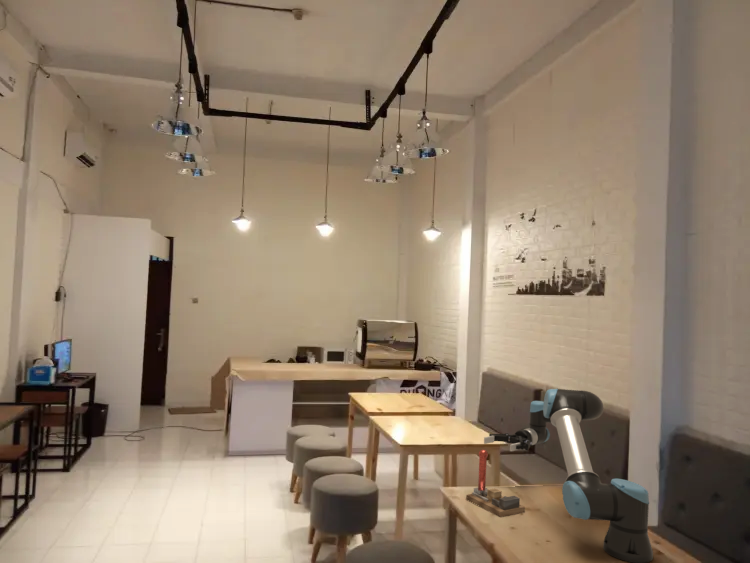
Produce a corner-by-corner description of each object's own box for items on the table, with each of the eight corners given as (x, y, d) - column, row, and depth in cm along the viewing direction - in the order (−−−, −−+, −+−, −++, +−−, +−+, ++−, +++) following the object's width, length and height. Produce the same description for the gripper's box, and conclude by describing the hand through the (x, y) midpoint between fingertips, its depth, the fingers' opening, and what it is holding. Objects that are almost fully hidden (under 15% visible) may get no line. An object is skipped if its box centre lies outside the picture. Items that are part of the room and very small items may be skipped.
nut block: (501, 501, 221) (501, 491, 221) (493, 502, 219) (494, 492, 219) (494, 497, 224) (494, 488, 224) (486, 499, 222) (487, 489, 222)
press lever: (494, 497, 225) (496, 452, 225) (485, 498, 222) (487, 453, 223) (482, 491, 231) (484, 447, 232) (473, 493, 228) (475, 449, 229)
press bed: (524, 512, 216) (525, 497, 216) (500, 517, 209) (501, 502, 209) (489, 495, 233) (490, 482, 233) (466, 499, 226) (466, 486, 226)
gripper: (549, 452, 240) (521, 460, 226) (502, 439, 258) (474, 446, 244) (550, 435, 240) (522, 442, 226) (503, 423, 259) (474, 429, 245)
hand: (497, 444), depth 235 cm, fingers open, 13 cm apart
